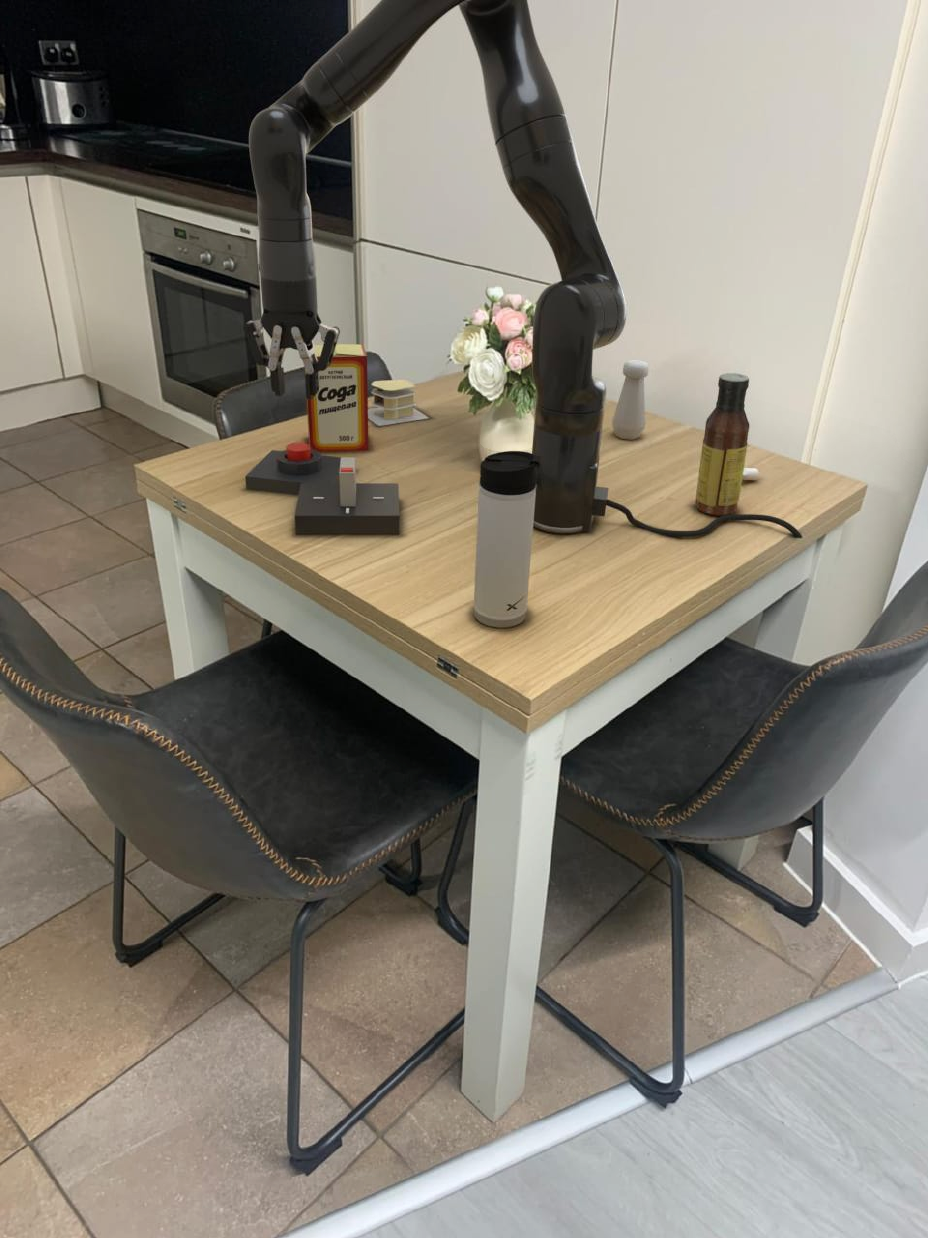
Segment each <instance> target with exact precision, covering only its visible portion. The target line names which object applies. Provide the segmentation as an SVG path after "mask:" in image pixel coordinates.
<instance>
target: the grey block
mask: <svg viewBox="0 0 928 1238" xmlns="http://www.w3.org/2000/svg"><path fill="white" fill-rule="evenodd" d="M340 457H341V461H340V471H339V477H340V504H341V506H355V502H356V483H357V474H356V473H357V471H356V466H357V465H356V457H353V456H352V457H350V456H349V457H348V456H347V457H342V456H340Z"/></svg>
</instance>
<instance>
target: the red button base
mask: <svg viewBox="0 0 928 1238" xmlns="http://www.w3.org/2000/svg"><path fill="white" fill-rule="evenodd" d="M341 457H342V456H332V455H325V454H324V455H323V454H321V452H318V451H316V450H313V449H311V459H308V460H306V461H291V460H288V459H287V451H286V449H285V450H275V449H272V450H270V451H269V453H267V454H266V455H265V456H264V457H263V458H262V459H261V460H260V461H259V462H258V463H257V464H256V465H255V466H254V467H253V468H252V469H251V470H250V471H249V472H248V473H247V474H246V475H245V476H244V478H245V489H246V490H248V491H256V492H257V491H258V492H267V493H273V494H274V493H275V494H284V495H292V496H293V495H294V496H298V495H299V490H300V485H301V483H340V477H339V471H340V461H341Z"/></svg>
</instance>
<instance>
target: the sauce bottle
mask: <svg viewBox="0 0 928 1238" xmlns="http://www.w3.org/2000/svg"><path fill="white" fill-rule="evenodd" d="M717 384H718V385H717V386H718V394H717V401H716V403H715V408H714V409H713V410H712V412H711V413H710V414H709V415H708V417H707V418H706V420H705V427H704V434H703V439H702V445H701V453H700V460H699V461H700V462H699V468H698V477H697V484H696V490H695V491H696V492H695V506H696V508H697V509H698V510H699V511H700V512H702V513H704V514H708V515H711V516H715V517H721V516H725V515H732V514H735V512H736V511H737V508H738V504H739V503H738V502H739V501H740V498H741V497H740V496H741V491H742V490H741V489H742V482H743V480H742V477H743V471H744V466H745V464H746V456H747V450H748V439H749V438H748V437H749V432H750V422H749V419H748V417H747V413H746V410H745V407H746V405H745V401H746V395H747V390H748V389H749V386H750V385H749V384H750V377H749V376H747V375H746V374H741V373H736V372H727V373H722V374H720V375H719V377H718V383H717Z"/></svg>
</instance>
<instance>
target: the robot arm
mask: <svg viewBox="0 0 928 1238" xmlns="http://www.w3.org/2000/svg"><path fill="white" fill-rule="evenodd" d="M456 7H458V8H459V10H460V13H461V15H462V17H463V20H464V22H465V25H466V27H467V30H468V33H469V35H470V38H471V40H472V43H473V45H474V48H475V51H476V55H477V57H478V59H479V64H480V68H481V73H482V79H483V87H484V95H485V102H486V109H487V115H488V120H489V125H490V129H491V133H492V138H493V142H494V146H495V150H496V152H497V156H498V159H499V162H500V166H501V169H502V173H503V175H504V179H505V181H506V184H507V185H508V188H509V190H510V192H511V194H512V195H513V196H514V198H515V199H516V201H517V203H519V205H520V206H521V208H522V209H523V210H524V211H525V213H526V214H527V215H528V217H529V218H530V219H531V221H532V222H533V223H534V225H535V226H536V227H537V228H538V229H539V231H540V232H541V233H542V235H543V236H544V238H545V240H546V242H547V243H548V245H549V247H550V249H551V251H552V255H553V256H554V260H555V263H556V265H557V269H558V272H559V275H560V278H561V280H559V281H555V282H552V283H551V284H549V285H547V286H546V287H545V288H544V289H543V290H542V292H541V293H540V295H539V296H538V298H537V301H536V304H535V307H534V313H533V319H532V339H531V340H532V342H531V343H532V345H531V346H532V347H531V348H532V349H531V351H532V352H531V375H532V380H533V381H532V382H533V384H534V388H535V392H536V394H535V405H534V406H535V407H534V417H533V418H534V420H533V432H532V433H533V434H532V446H531V453H532V454H534V455H537V456H541V462H542V463H541V466H540V467H539V468H537V465H536V471H537V476H536V496H535V508H534V521H533V528H536V529H538V530H540V531H544V532H547V533H552V534H564V535H565V534H575V533H576V534H577V533H581V532H584V533H590V532H591V528H592V525H593V522H594V521H593V520H594V517H595V516H596V517H606V511H607V507H609V508H611V509H614V510H617V511H619V512H621V513H623V514H624V515H625V516H626V519H627V521H628V522H629V523H630V524H631V525H633V526H635V527H636V528H639V529H642V530H645V531H648V532H651V533H654V534H658V535H661V536H665V537H677V538H691V537H699V536H703V535H705V534H708V533H710V532H711V531H713V530H714V529H715V528H716V527H717V526H718V525H720V524H722V523H724V522H729V521H760V522H761V521H762V522H769V523H773V524H776V525H778V526H781V527H783V528H784V529H786V530H787V531H788V532H789V533H791V534H792V535H793V536H794V537H795V538H797V539H803V536H802V534H801V532H800V531H799V530H798V529H797V528H796V527H795V526H793V525H792V524H791V523H789V522H788V521H786V520H784V519H782V518H779V517H776V516H773V515H768V514H767V515H765V514H758V513H757V514H756V513H753V514H752V513H751V514H750V513H749V514H748V513H742V514H741V513H736V514H735V513H732V514H730V515H725V516H718V517H717V518H715V519H714V520H712V521H710V523H709V524H707V525H705V526H704V527H701V528H699V529H696V530H695V529H694V530H693V529H692V530H671V529H663V528H659V527H654V526H651V525H648V524H646V523H643V522H642V521H641V520H638V519H637V518H635V517H634V515H633V513H632V512H631V510H630V509H629V508H627V507H626V506H625V505H623V504H621V503H618V502H617V501H616V502H615V501H614V500H611V499H608V498H609V497H608V496H609V487H604V486H597V485H598V484H597V483H598V475H599V467H600V458H601V453H600V452H601V443H602V436H603V435H602V434H603V425H604V416H605V408H606V401H607V400H606V399H607V386H606V383H605V382H604V381H603V380H602V379H600V378H599V377H596V376H593V358H594V356H593V355H594V350H596V349H597V350H598V349H600V348H604V347H606V346H608V345H611V344H612V343H614V342H616V340H617V339H619V337H620V336H621V335H622V333H623V331H624V329H625V325H626V323H627V322H626V321H627V303H626V298H625V295H624V291H623V288H622V286H621V282H620V280H619V277H618V274H617V272H616V270H615V267H614V264H613V262H612V260H611V257H610V255H609V252H608V250H607V247H606V244H605V242H604V239H603V236H602V234H601V232H600V229H599V226H598V222H597V220H596V219H597V218H596V216H595V214H594V213H595V212H594V210H593V206H592V202H591V199H590V195H589V193H588V189H587V186H586V182H585V179H584V176H583V173H582V170H581V165H580V162H579V158H578V153H577V149H576V145H575V142H574V137H573V134H572V131H571V128H570V125H569V120H568V118H567V113H566V111H565V108H564V105H563V102H562V99H561V96H560V94H559V91H558V88H557V85H556V83H555V81H554V78H553V76H552V74H551V71H550V70H549V69H550V68H549V67H548V65H547V63H546V60H545V59H544V56H543V54H542V51H541V49H540V47H539V43H538V41H537V38H536V35H535V31H534V26H533V23H532V17H531V12H530V7H529V3H528V0H380V1H379V2H378V3H377V4H376V5H375V6H374V7H373V8H372V9H371V10H370V11H369V12H367V14H366V15H365V17H363V18H362V19H360V21H359V22H358V23H357V24H356V25H355V26H354V27H353V28H352V29H351V30H349V32H347V34H346V35H344V36H343V37H342V38H341V39H340V40H339V41H337V42H336V43H335V44H334V46H332V47H331V48H330V49H329V50H327V52H326V53H324V54H323V55H322V56H321V57H320V58H319V59H318V60H317V61H315V63H314V64H313V65H312V66H311V67H310V68H309V69H308V70H307V71H306V73H305V74H304V76H303V77H302V79H301V80H300V81H299V82H298V83H296V84H295V85H294V86H292V87H291V89H289V90H288V91H287V92H286V93H284V94H283V95H282V96H281V97H280V98H278V99H277V100H276V101H275V102H274V103H272V104H271V105H270V106H268V107H267V108H264V109H263V110H261V111H260V112H258V113H257V114H256V115H255V117H254V118H253V120H252V121H251V124H250V126H249V131H248V149H249V159H250V164H251V165H250V166H251V172H252V176H253V183H254V188H255V192H256V198H257V199H256V201H257V207H256V209H257V223H258V224H257V226H258V237H259V240H258V241H259V242H258V271H259V277H260V278H259V279H260V290H261V291H260V292H261V293H260V294H261V304H262V315H261V316H260V319H250V320H249V321H247V322H246V323H244V324H243V326H242V329H243V331H244V335H245V337H246V340H247V342H248V345H249V348H250V350H251V353H252V356H253V359H254V361H255V363H256V364H257V365H258V366H263V367H266V368H267V369H268V370H269V376H270V388H271V391H272V392H274V394H275V395H274V396H276V397H282V396H283V395H284V394H285V392H286V385H285V383H286V382H285V369H284V368H285V367H282V364H283V360H284V355H285V352H286V350H287V349H292V350H296V351H297V352H298V355H299V358H300V360H302V363H303V366H304V371H305V370H306V372H307V373H306V374H305V373H304V381H305V383H304V384H305V397H306V400H307V399H313V398H314V397H315V395H316V394H317V393H318V391H319V376H318V372H319V371H324V370H325V369H326V368H327V367H329V366H330V364H331V361H332V358H333V355H334V351H335V348H336V344H338V340H339V337H340V334H341V329H340V328H339V327H338V326H333V327H331V326H328V325H326V324H324V323H322V320H321V318H320V316H319V313H318V312H319V311H318V306H319V305H318V287H317V286H318V285H317V263H316V252H315V246H314V238H313V222H312V221H313V220H312V216H313V215H312V205H311V200H310V197H309V195H308V193H307V169H306V168H307V165H306V156H307V154H309V153H310V152H311V151H312V150H313V149H314V148H315V147H316V146H317V145H318V144H319V143H320V142H321V141H322V140H323V139H324V138H325V137H326V136H327V135H329V133H330V132H331V131H332V130H333V129H334V128H335V127H336V126H338V125H340V124H342V123H344V122H345V121H347V119H349V118H350V117H351V116H352V115H354V114H355V113H356V112H357V111H359V110H360V109H361V108H362V107H363V106H364V105H365V104H367V103H368V102H369V101H370V100H371V99H372V98H373V97H374V96H375V95H376V94H377V93H379V91H380V90H381V89H383V87H385V86H386V85H387V83H388V82H389V81H390V80H391V79H392V77H393V76H394V75H395V74H396V72H398V70H399V69H400V67H401V65H402V64H403V63H404V62H405V60H406V59H407V57H408V56H409V55H410V53H411V52H412V50H413V49H414V47H415V46H416V45H417V44H418V42H420V40H421V38H422V37H423V36H425V34H426V33H427V32H428V31H429V30H430V29H432V27H433V26H434V25H435V24H436V23H437V22H438V21H439V20H441V18H442V17H444V16H445V15H447V14H448V13H449V12H450V11H452V10H453V9H455V8H456ZM264 330H265V332H266V333H267V335H268V337H270V339H271V342H270V349H269V351H268V348H267V345H266V343H265V339H264V337H263V333H264ZM318 333H319V334H320V341H322V342H323V344H322V345H323V348H322V352H321V355H320V359H319V361H318V360H317V356H316V349H315V345H316V344H315V342H314V339H315V337H316V336H317V334H318Z"/></svg>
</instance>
